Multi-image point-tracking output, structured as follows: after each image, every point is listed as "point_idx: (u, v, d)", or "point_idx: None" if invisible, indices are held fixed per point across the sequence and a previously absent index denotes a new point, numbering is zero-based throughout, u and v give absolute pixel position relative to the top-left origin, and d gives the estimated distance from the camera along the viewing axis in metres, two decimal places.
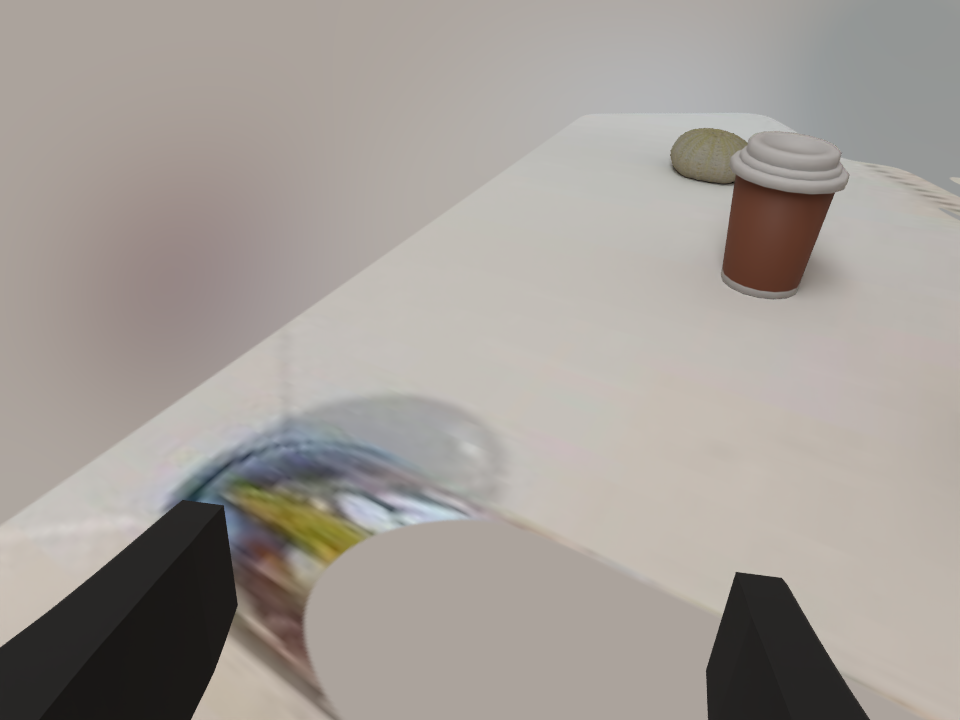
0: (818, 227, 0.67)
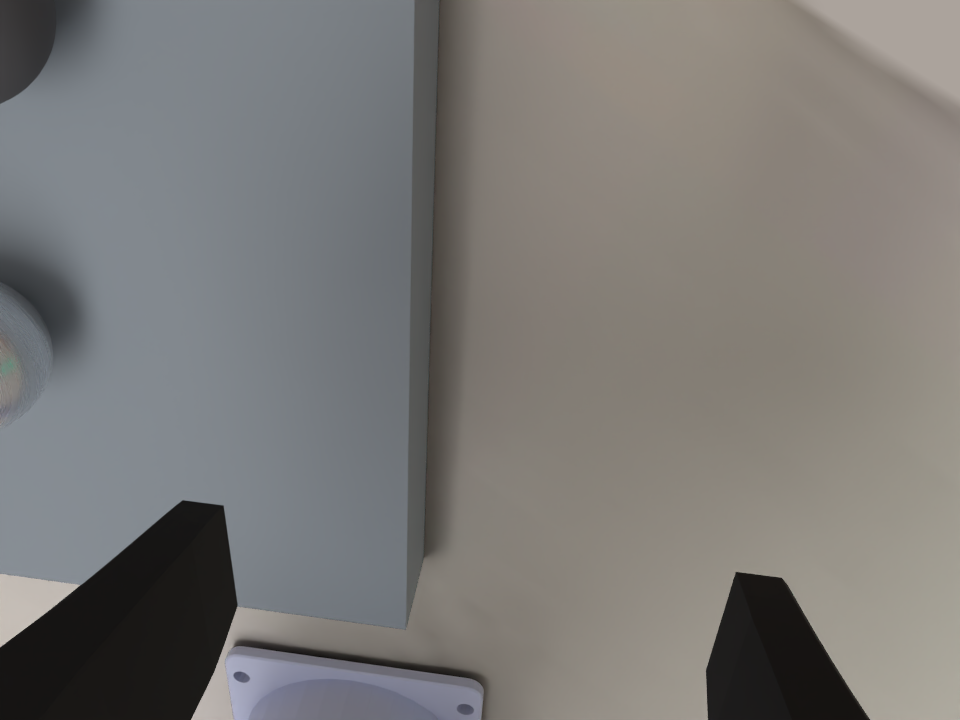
0: None
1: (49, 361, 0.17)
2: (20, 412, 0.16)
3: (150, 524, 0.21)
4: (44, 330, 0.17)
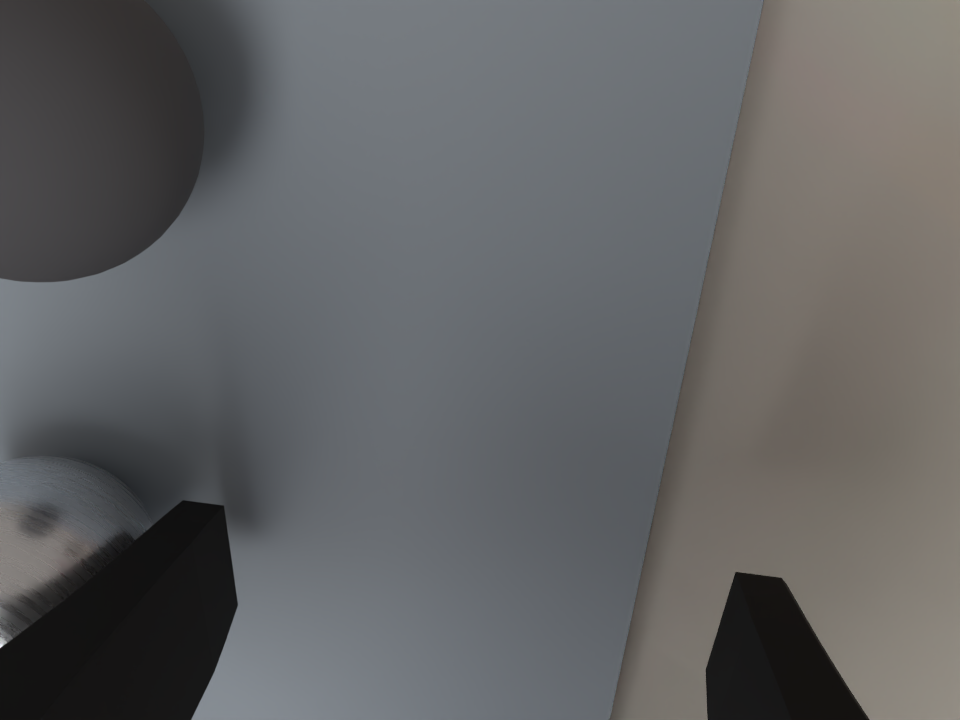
0: None
1: None
2: None
3: None
4: None
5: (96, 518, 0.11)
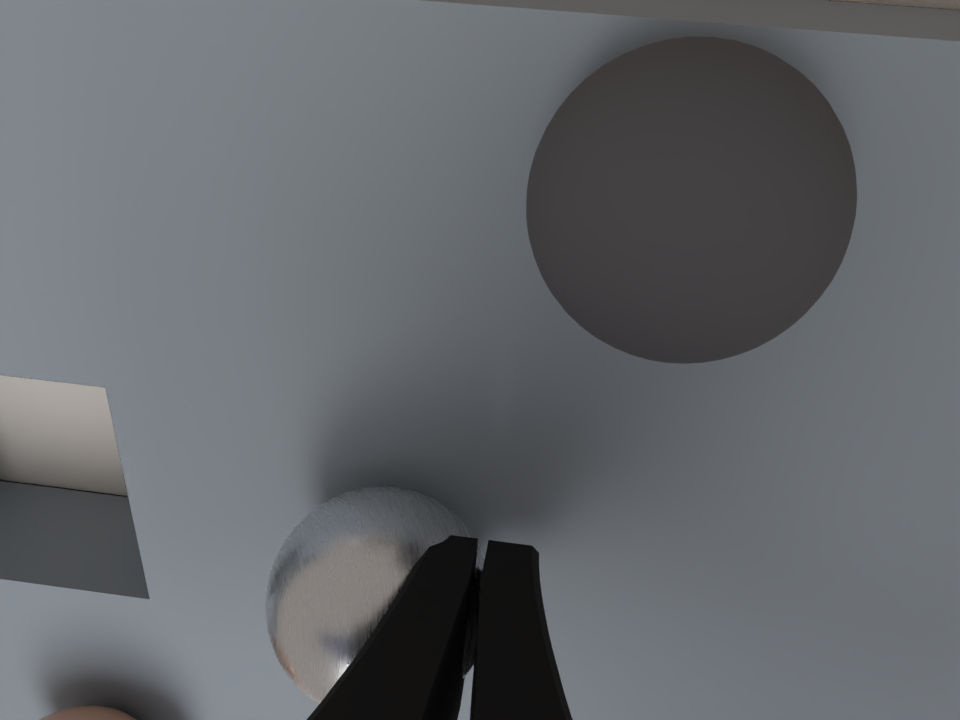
0: None
1: None
2: None
3: None
4: None
5: None
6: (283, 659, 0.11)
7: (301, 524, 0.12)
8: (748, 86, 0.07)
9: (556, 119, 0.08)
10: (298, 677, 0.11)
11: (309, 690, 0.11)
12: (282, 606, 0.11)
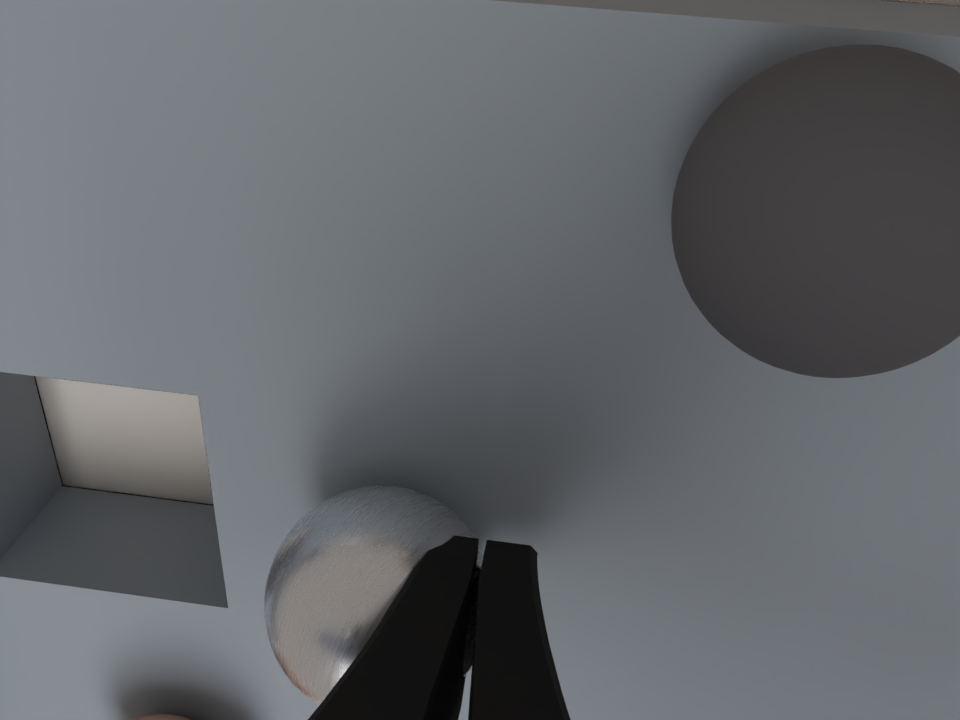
0: None
1: (326, 695, 0.11)
2: None
3: None
4: None
5: (335, 586, 0.11)
6: None
7: None
8: (933, 98, 0.07)
9: (715, 129, 0.08)
10: None
11: None
12: (287, 535, 0.12)
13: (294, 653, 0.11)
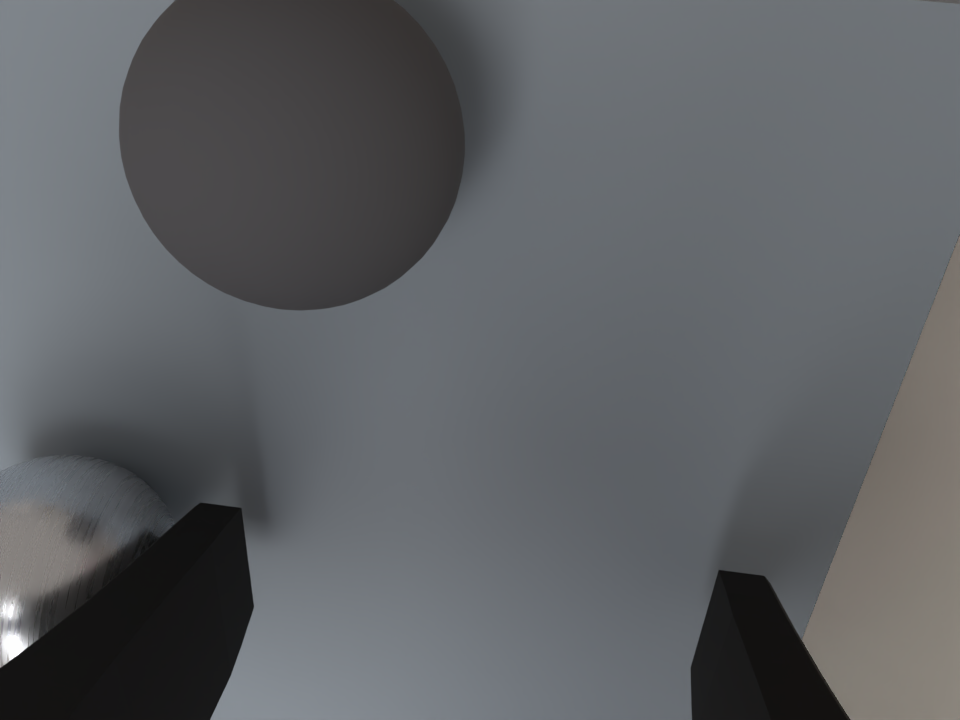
0: None
1: None
2: None
3: None
4: None
5: (13, 578, 0.10)
6: None
7: None
8: (289, 9, 0.07)
9: None
10: None
11: None
12: None
13: None
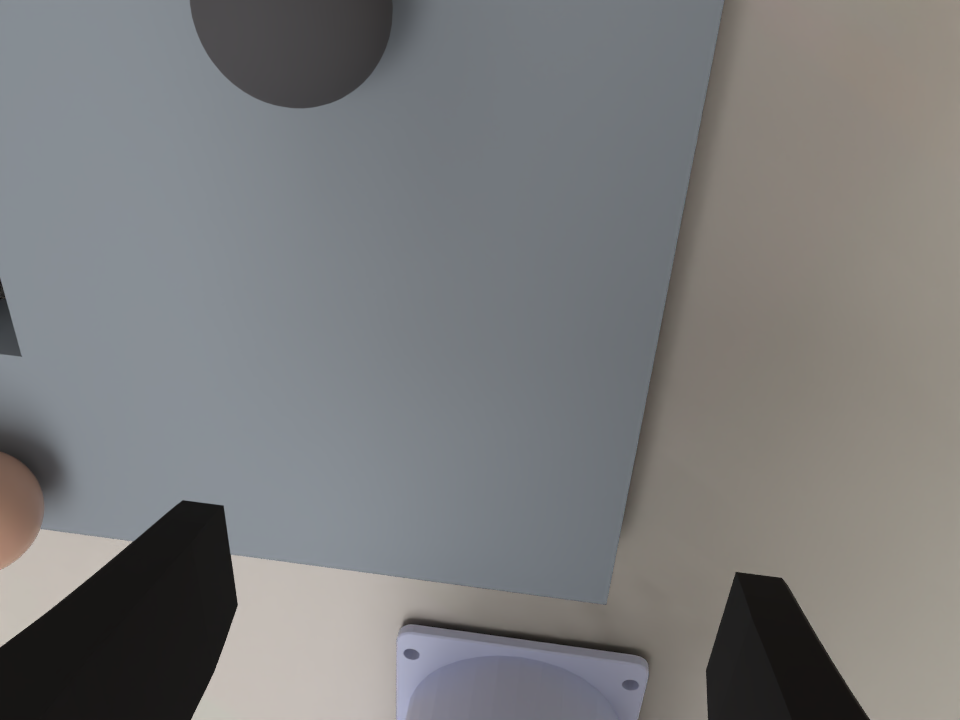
0: None
1: None
2: None
3: (370, 503, 0.21)
4: None
5: None
6: None
7: None
8: None
9: None
10: None
11: None
12: None
13: None
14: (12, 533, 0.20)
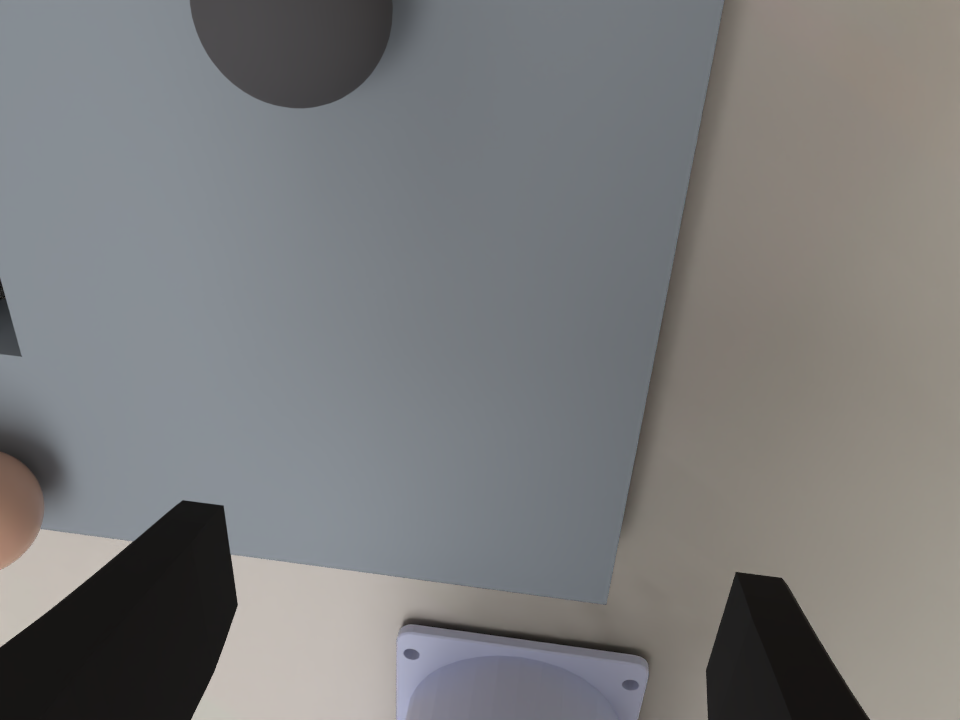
0: None
1: None
2: None
3: (370, 503, 0.21)
4: None
5: None
6: None
7: None
8: None
9: None
10: None
11: None
12: None
13: None
14: (12, 533, 0.20)
